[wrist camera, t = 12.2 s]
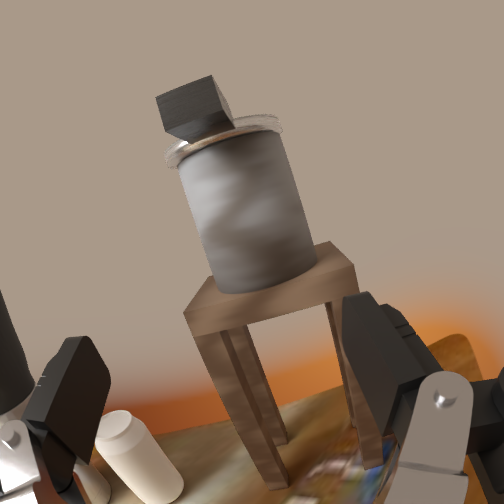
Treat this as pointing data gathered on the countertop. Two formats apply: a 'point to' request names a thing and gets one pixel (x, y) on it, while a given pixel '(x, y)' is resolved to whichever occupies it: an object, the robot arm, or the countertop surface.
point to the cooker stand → (262, 287)
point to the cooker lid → (204, 119)
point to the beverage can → (137, 458)
